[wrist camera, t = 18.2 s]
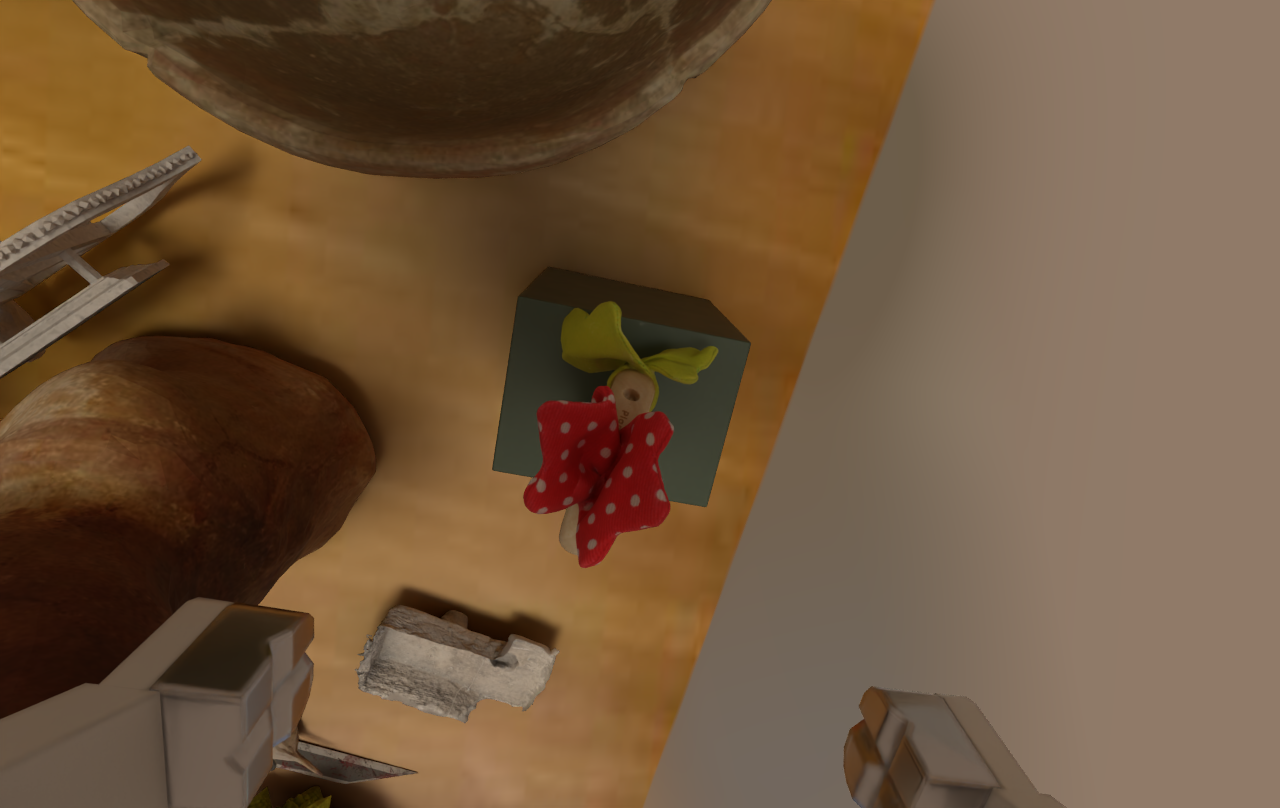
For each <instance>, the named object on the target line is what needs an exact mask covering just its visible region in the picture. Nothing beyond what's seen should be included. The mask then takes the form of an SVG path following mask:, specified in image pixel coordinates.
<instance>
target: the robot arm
mask: <svg viewBox="0 0 1280 808" xmlns="http://www.w3.org/2000/svg"><path fill="white" fill-rule="evenodd" d="M313 639H314V618H313V617H312V616H311V615H310V614H309V613H304V612H297V611H291V610H284V609H278V608H271V607H265V606H258V605H252V604H245V603H239V602H236V603H233V602H228V601H221V600H215V599H208V598H202V597H197V598H195V599H192V600H189V601H187V602H186V603H184V604H183V605H182V606H181V607H180V608H179V609H178V610H177V611H176V612H175V613H174V614H173V615H172V616H171V617H169V618H168V619H167V620H166V621H165V622H164V623H163V624H162V625H161V626H160V627H159V628H158V629H157V630H156V631H155V632H154V633H153V634H151V635H150V636H149V637H148V638H147V639H146V640H145V641H144V642H143V643H142V644H141V645H140V646H139V647H138V648H137V649H136V650H135V651H133V652H132V653H131V654H130V655H129V656H128V657H127V658H126V659H125V660H124V661H123V662H122V663H121V664H120V665H119V666H118V667H117V668H115V669H114V670H113V671H112V672H111V673H110V674H109V675H108V676H107V677H106V678H105V679H104V680H103V681H102V682H101V683H100V684H99V685H98V684H89V683H85V684H82V685H80V686H78V687H75V688H73V689H70V690H68V691H66V692H63V693H61V694H59V695H56V696H54V697H52V698H49V699H47V700H45V701H42V702H40V703H38V704H35V705H33V706H31V707H28V708H26V709H23V710H21V711H19V712H16V713H14V714H12V715H9V716H7V717H5V718H2V719H0V808H248V806H249V804H250V803H251V801H252V799H253V798H254V796H255V794H256V793H257V791H258V789H259V788H260V786H261V784H262V783H263V781H264V779H265V778H266V776H267V775H268V773H269V771H270V770H271V768H272V766H273V747H275V746H276V745H278V744H279V743H281V742H283V741H284V740H286V739H287V738H289V737H290V736H291V734H292V733H293V731H294V729H295V728H296V726H297V724H298V722H299V721H300V719H301V717H302V714H303V711H304V709H305V706H306V704H307V701H308V698H309V696H310V691H311V686H312V681H313V666H314V663H313V662H312V661H311V659H310V658H309V657H308V656H307V654H306V653H305V651H306V649H307V648H308V646H309V645H310V643H311V642H312V640H313ZM859 708H860V710H861V713H862V715H863V717H864V719H863V720H862V721H860V722H859V723H858V724H856V725H855V726H854V727H852V728H851V729H850V730H849V734H848V737H847V740H846V743H845V746H844V772H845V777H846V782H847V785H848V788H849V791H850V793H851V796H852V799H853V800H854V801H855V802H856V803H857V804H858V805H859V806H860V807H861V808H1066V807H1065V806H1064V805H1063V804H1061V803H1060V802H1058V801H1057V800H1056V799H1055V798H1053V797H1052V796H1051V795H1047V794H1039V792H1038V791H1037V790H1036V788H1035V787H1034V785H1033V784H1032V783H1031V781H1030V780H1029V778H1028V777H1027V775H1026V774H1025V772H1024V771H1023V770H1022V768H1021V767H1020V765H1019V764H1018V763H1017V761H1016V760H1015V758H1014V757H1013V755H1012V754H1011V753H1010V751H1009V750H1008V748H1007V747H1006V746H1005V744H1004V743H1003V741H1002V740H1001V738H1000V737H999V736H998V734H997V733H996V731H995V730H994V729H993V727H992V726H991V724H990V723H989V721H988V720H987V719H986V717H985V716H984V714H983V713H982V712H981V710H980V709H979V707H978V706H977V704H975V703H974V702H973V701H972V700H970V699H969V698H967V697H964V696H954V695H945V694H936V693H935V694H929V693H922V692H913V691H905V690H897V689H889V688H881V687H873V686H871V687H870V688H869V689H868V690H867V691H866V692H865V693H864V695H863V697H862V700H861V702H860V704H859Z"/></svg>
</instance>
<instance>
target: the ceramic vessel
mask: <svg viewBox="0 0 1280 808" xmlns="http://www.w3.org/2000/svg"><path fill="white" fill-rule="evenodd" d="M375 472H376V456H375V452H374V448H373V445H372V442H371V439H370V436H369V434H368V432H367V431H366V429H365V427H364V425H363V423H362V421H361V420H360V418H359V416H358V414H357V412H356V410H355V409H354V407H353V406H352V405H351V404H350V403H349V401H348V400H347V399H346V398H345V397H344V396H343V395H342V394H341V393H340V392H339V391H338V390H337V389H336V388H335V387H334V386H333V385H332V384H331V383H330V382H329V381H328V380H327V379H326V378H325V377H323V376H320V375H318V374H316V373H313V372H311V371H308V370H306V369H303V368H301V367H299V366H296V365H294V364H291V363H289V362H286V361H284V360H281V359H279V358H277V357H275V356H273V355H272V354H270V353H268V352H265V351H261V350H258V349H254V348H251V347H247V346H242V345H234V344H231V343H227V342H223V341H220V340H216V339H212V338H186V337H172V336H146V337H136V338H131V339H126V340H121V341H119V342H116V343H114V344H112V345H110V346H108V347H107V348H105V349H104V350H102V351H101V352H100V353H98V354H97V355H95V357H94V358H93V359H92V361H91V362H88V363H85V364H81V365H78V366H76V367H73V368H71V369H68V370H66V371H64V372H61V373H60V374H58V375H56V376H54V377H52V378H51V379H49V380H48V381H46V382H44V383H43V384H41V385H40V386H38V387H37V388H36V389H35V390H33V391H32V392H31V393H30V394H29V395H27V396H26V397H25V398H24V399H23V400H22V401H21V402H20V403H19V404H17V405H16V406H15V407H14V408H13V409H12V410H11V411H10V412H9V414H8V415H7V416H6V417H5V418H4V419H3V420H2V421H1V422H0V719H2V718H5V717H7V716H9V715H12V714H14V713H16V712H19V711H21V710H23V709H26V708H28V707H31V706H33V705H35V704H38V703H40V702H42V701H45V700H47V699H49V698H52V697H54V696H56V695H59V694H61V693H63V692H66V691H68V690H70V689H73V688H75V687H78V686H80V685H82V684H85V683H89V684H98V685H99V684H100V683H101V682H102V681H103V680H104V679H105V678H106V677H107V676H108V675H109V674H110V673H111V672H112V671H113V670H114V669H115V668H117V667H118V666H119V665H120V664H121V663H122V662H123V661H124V660H125V659H126V658H127V657H128V656H129V655H130V654H131V653H132V652H133V651H135V650H136V649H137V648H138V647H139V646H140V645H141V644H142V643H143V642H144V641H145V640H146V639H147V638H148V637H149V636H150V635H151V634H153V633H154V632H155V631H156V630H157V629H158V628H159V627H160V626H161V625H162V624H163V623H164V622H165V621H166V620H167V619H168V618H169V617H171V616H172V615H173V614H174V613H175V612H176V611H177V610H178V609H179V608H180V607H181V606H182V605H183V604H184V603H186V602H187V601H189V600H192V599H195V598H197V597H202V598H208V599H215V600H221V601H228V602H233V603H236V602H239V603H245V604H252V605H258V604H259V603H260V602H261V601H262V600H263V599H264V597H265V596H266V595H267V593H268V592H269V591H270V589H271V588H272V587H273V586H274V584H275V583H276V582H277V580H278V579H279V578H280V577H281V576H282V575H283V574H284V573H285V572H286V570H287V569H288V568H289V567H290V566H291V565H293V564H294V563H295V562H296V561H297V560H298V559H301V558H302V557H304V556H306V555H308V554H310V553H312V552H314V551H316V550H317V549H319V548H321V547H322V546H323V545H324V544H325V543H326V542H327V541H328V540H329V539H330V538H331V537H333V536H334V535H335V534H336V533H337V532H338V531H339V530H340V528H341V527H342V525H343V523H344V521H345V520H346V518H347V516H348V513H349V511H350V510H351V508H352V506H353V505H354V503H355V502H356V500H357V498H358V497H359V495H360V494H361V493H362V491H363V490H364V488H365V487H366V486H367V484H368V483H369V481H370V480H371V478H372V476H373V475H374V473H375Z"/></svg>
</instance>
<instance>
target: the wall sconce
mask: <svg viewBox="0 0 1280 808" xmlns="http://www.w3.org/2000/svg"><path fill="white" fill-rule="evenodd" d="M201 160H202V159H201V158H200V157H199V156H198V155H197V153H195V152H194V151H193V150H192V148H191V147H190V146H187V147H185V148H183V149H182V150H180V151H178V152H176V153H174V154H173V155H171V156H169V157H167V158H165V159H163V160H162V161H160V162H158V163H156V164H154V165H152V166H150V167H147V168H145V169H143V170H141V171H139V172H137V173H135V174H133V175H131V176H129V177H127V178H124V179H122V180H120V181H118V182H115V183H113V184H111V185H109V186H106V187H104V188H102V189H100V190H97V191H95V192H93V193H91V194H88V195H86V196H84V197H82V198H79V199H77V200H75V201H73V202H71V203H69V204H67V205H65V206H63V207H62V208H60V209H58V210H56V211H54V212H52V213H50V214H48V215H47V216H45V217H43V218H41V219H39V220H37V221H35V222H34V223H32V224H30V225H29V226H27V227H25V228H24V229H22V230H21V231H19V232H17V233H16V234H14V235H12V236H11V237H9V238H7V239H6V240H4V241H3V242H2V241H0V379H1V378H2V377H4V376H6V375H7V374H9V373H11V372H12V371H14V370H15V369H17V368H18V367H20V366H21V365H23V364H24V363H26V362H32V361H34V360H36V359H38V358H40V357H41V356H42V355H43V354H44V353H45V349H46V348H48V347H49V346H51V345H52V344H54V343H55V342H57V341H58V340H60V339H61V338H62V337H64V336H65V335H67V334H68V333H70V332H71V331H73V330H74V329H76V328H77V327H79V326H80V325H82V324H83V323H85V322H86V321H88V320H89V319H90V318H92V317H93V316H95V315H96V314H98V313H99V312H101V311H102V310H104V309H105V308H107V307H108V306H110V305H111V304H113V303H114V302H116V301H117V300H119V299H120V298H121V297H123V296H124V295H126V294H127V293H129V292H130V291H132V290H133V289H135V288H136V287H138V286H139V285H141V284H142V283H144V282H145V281H147V280H148V279H149V278H151V277H152V276H154V275H155V274H157V273H158V272H160V271H161V270H163V269H164V268H166V267H167V266H169V265H170V264H169V263H168V262H167V261H165V260H164V259H162V260H161V261H159V262H157V263H152V264H148V265H141V264H138V265H136V266H135V265H131V266H128V267H121V268H119V269H117V270H115V271H113V272H111V273H109V274H107V275H105V276H101V275H100V274H99V273H98V272H97V271H96V270H95V269H93V268H92V267H91V266H90V265H89V264H88V263H87V262H86V261H84V260H83V259H82V258H81V257H80V256H81V255H83V254H84V253H86V252H87V251H89V250H90V249H92V248H93V247H95V246H96V245H98V244H99V243H101V242H102V241H104V240H105V239H107V238H108V237H110V236H111V235H113V234H114V233H116V232H117V231H119V230H120V229H122V228H123V227H125V226H126V225H128V224H129V223H131V222H132V221H134V220H135V219H137V218H138V217H140V216H141V215H142V214H144V213H145V212H146V211H147V210H149V209H150V208H151V207H153V206H154V205H155V204H156V203H157V202H159V201H160V200H161V199H162V198H163V197H164V196H165V195H166V194H167V192H168V191H169V190H170V188H171V187H172V186H173V185H174V183H176V182H177V181H178V180H179V179H180V178H181V177H182V176H183V175H184V174H185V173H186V172H187V171H189V170H190V169H191V168H193V167H194V166H195V165H196V164H198V163H199V162H200V161H201ZM125 203H126V204H125ZM123 204H125V205H123ZM121 205H123V206H122V207H120V208H119V209H117V210H116V211H115V212H113V213H112V214H110V215H109V216H107V217H106V218H104V219H103V220H101V221H100V222H96V223H91V222H90V220H92V219H94V218H96V217H98V216H100V215H102V214H104V213H107V212H109V211H111V210H113V209H115V208H117V207H119V206H121ZM66 265H70V266H71V267H72V268H73V269H74V270H75V271H76V272H78V273H79V274H80V275H81V276H82V277H83V278H85V279H86V280H87V281H88V282H89V283H90V284H91V285H89V286H88V287H86V288H85V289H83V290H82V291H80V292H79V293H77V294H76V295H74V296H73V297H71V298H70V299H68V300H67V301H65V302H64V303H62V304H61V305H59V306H58V307H56V308H55V309H53V310H52V311H50V312H49V313H47V314H46V315H44V316H43V317H42V318H40V319H39V320H37V321H36V322H35V321H34V320H33V319H32V318H31V316H30V315H29V314H28V313H27V312H26V311H25V310H24V309H23V308H22V307H20V306H19V305H18V304H17V303H16V302H15V301H13V299H15V298H18V297H20V296H21V295H23V294H24V293H26V292H27V291H29V290H30V289H32V288H33V287H35V286H36V285H38V284H39V283H41V282H42V281H44V280H45V279H47V278H48V277H50V276H51V275H53V274H54V273H56V272H57V271H59V270H60V269H62V268H63V267H65V266H66Z"/></svg>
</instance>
